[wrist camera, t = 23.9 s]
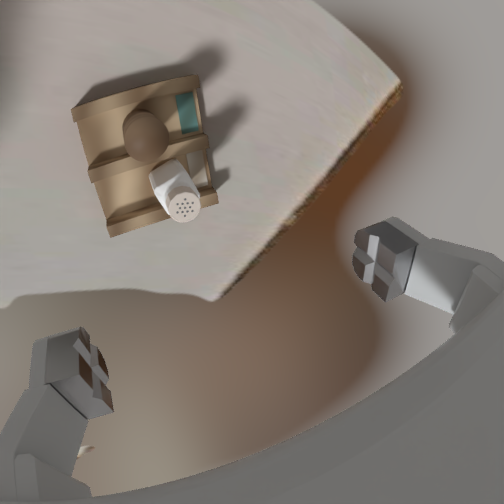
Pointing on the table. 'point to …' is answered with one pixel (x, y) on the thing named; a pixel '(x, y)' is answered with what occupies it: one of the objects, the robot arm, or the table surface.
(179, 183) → the pepper shaker
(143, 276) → the table surface
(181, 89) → the rack
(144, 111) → the dowel
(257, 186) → the table surface
